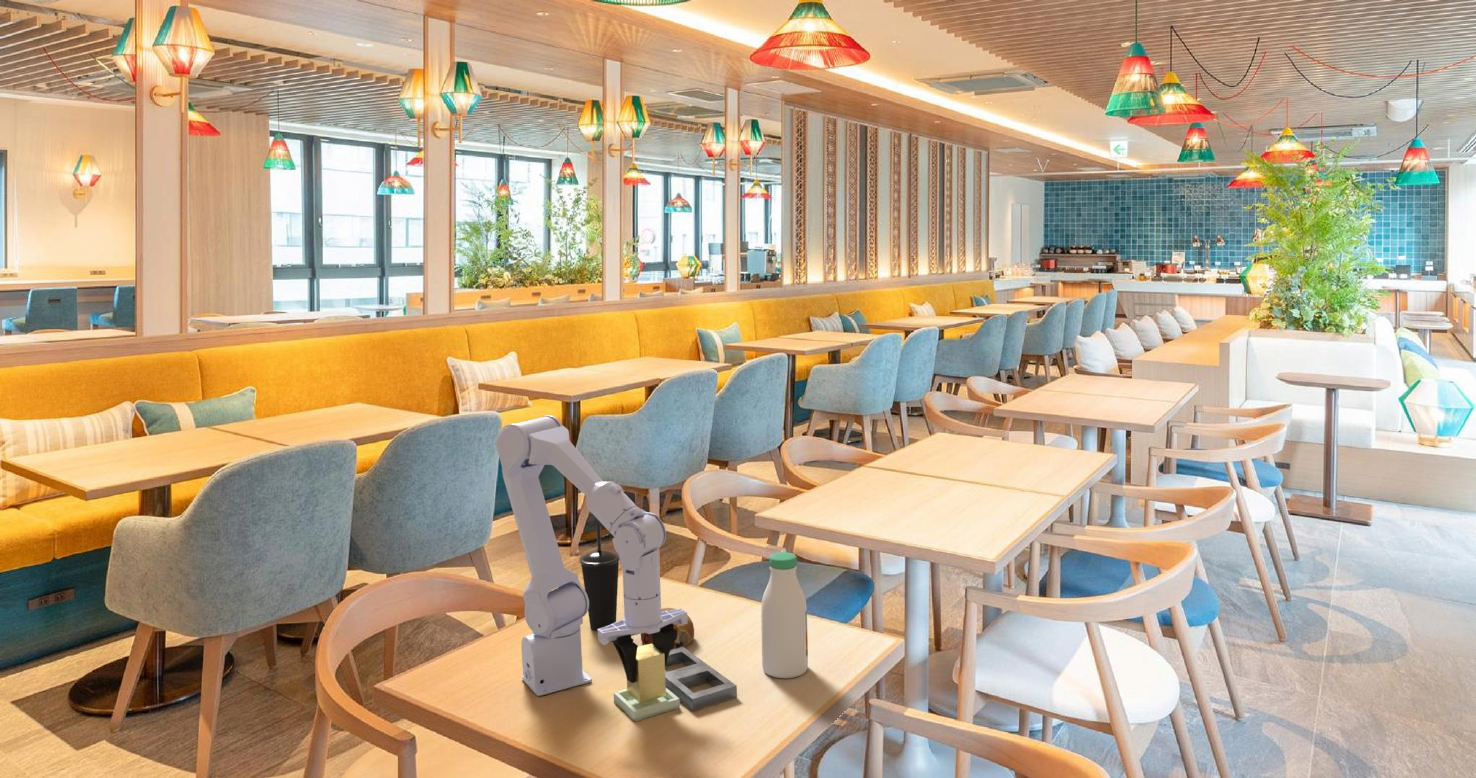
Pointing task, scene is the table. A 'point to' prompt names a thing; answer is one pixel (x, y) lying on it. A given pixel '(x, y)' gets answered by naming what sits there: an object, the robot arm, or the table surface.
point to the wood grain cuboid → (648, 674)
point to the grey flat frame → (696, 681)
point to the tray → (645, 704)
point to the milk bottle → (784, 620)
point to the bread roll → (683, 633)
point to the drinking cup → (601, 584)
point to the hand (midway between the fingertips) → (645, 676)
